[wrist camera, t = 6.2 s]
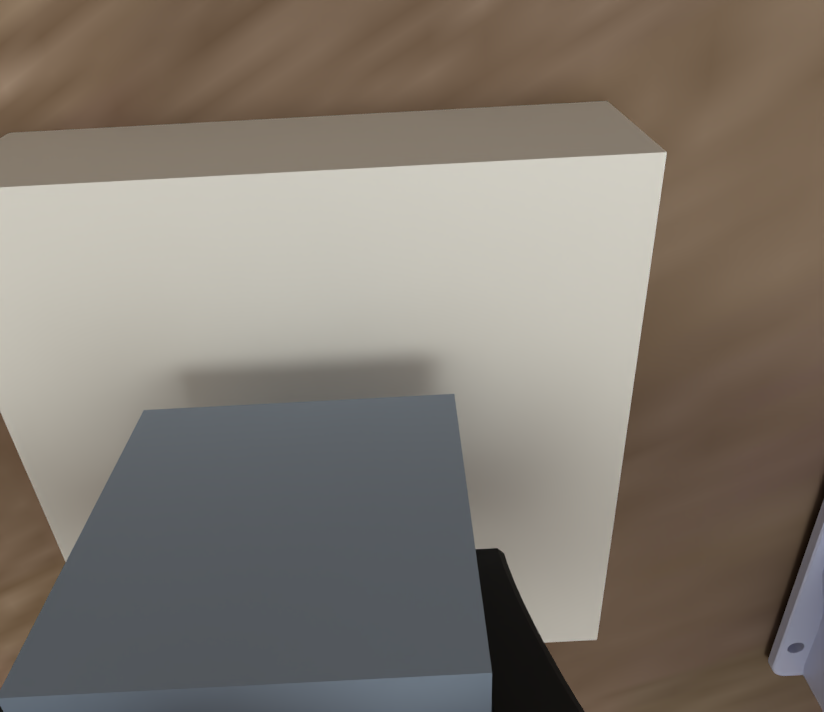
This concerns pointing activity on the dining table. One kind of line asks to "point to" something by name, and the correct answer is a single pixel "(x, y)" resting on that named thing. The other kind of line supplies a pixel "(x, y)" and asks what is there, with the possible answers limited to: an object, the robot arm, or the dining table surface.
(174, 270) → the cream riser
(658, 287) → the dining table surface
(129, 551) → the blue cube
